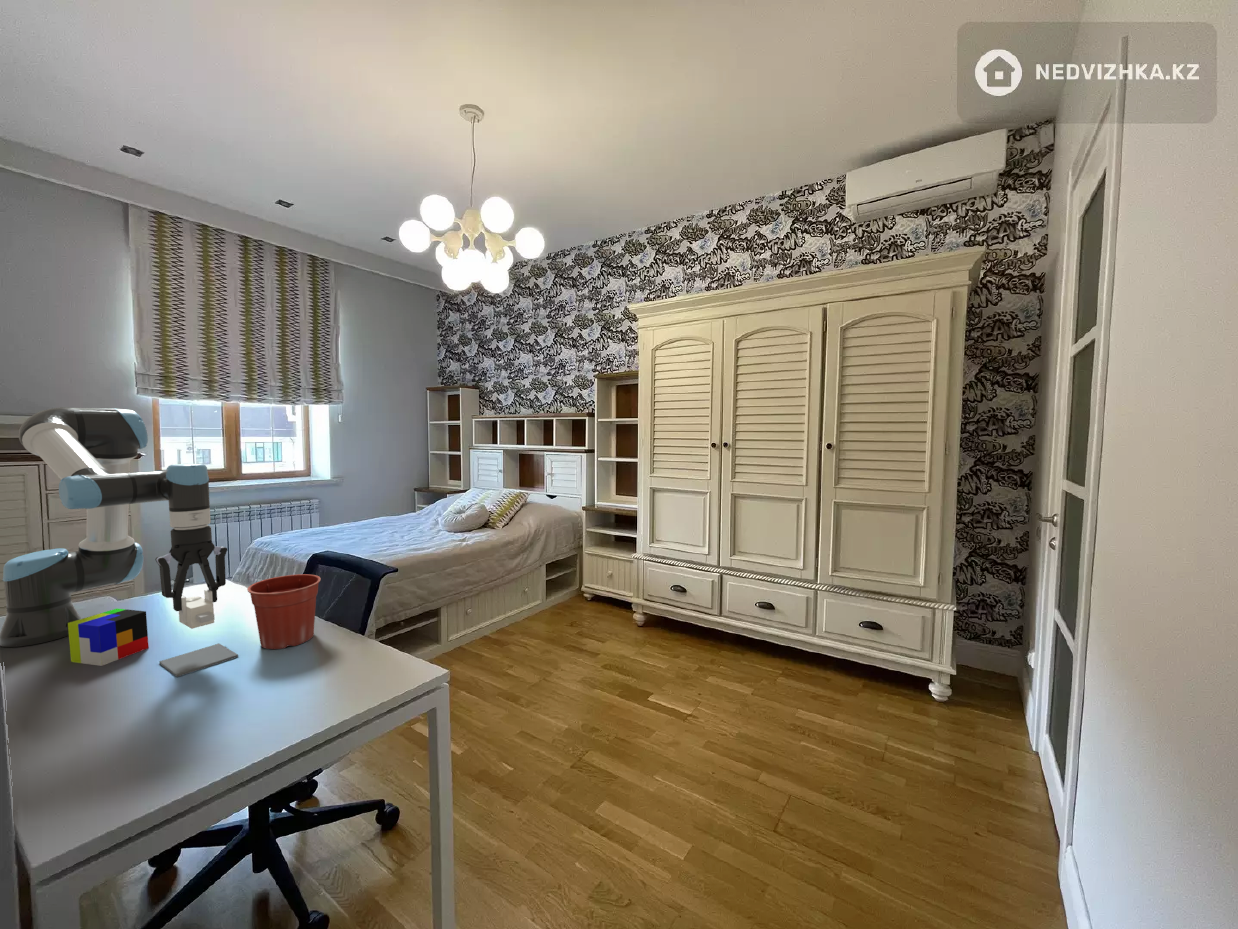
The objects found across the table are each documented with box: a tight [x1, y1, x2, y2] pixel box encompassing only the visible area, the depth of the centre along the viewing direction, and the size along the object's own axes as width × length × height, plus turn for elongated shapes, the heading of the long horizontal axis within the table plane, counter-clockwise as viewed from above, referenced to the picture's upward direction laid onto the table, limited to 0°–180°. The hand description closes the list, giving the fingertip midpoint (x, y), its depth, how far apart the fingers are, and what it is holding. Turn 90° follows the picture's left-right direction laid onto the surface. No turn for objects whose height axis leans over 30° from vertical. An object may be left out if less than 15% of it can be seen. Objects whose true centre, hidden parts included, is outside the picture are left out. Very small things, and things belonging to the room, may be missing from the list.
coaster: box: [158, 643, 239, 678], centre depth 122 cm, size 12×12×1 cm
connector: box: [178, 596, 215, 630], centre depth 121 cm, size 13×4×5 cm, turn 58°
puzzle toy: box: [68, 608, 150, 667], centre depth 124 cm, size 10×10×10 cm
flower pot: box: [246, 573, 321, 650], centre depth 133 cm, size 16×16×16 cm
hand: (196, 618), depth 121 cm, fingers closed on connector, 4 cm apart
